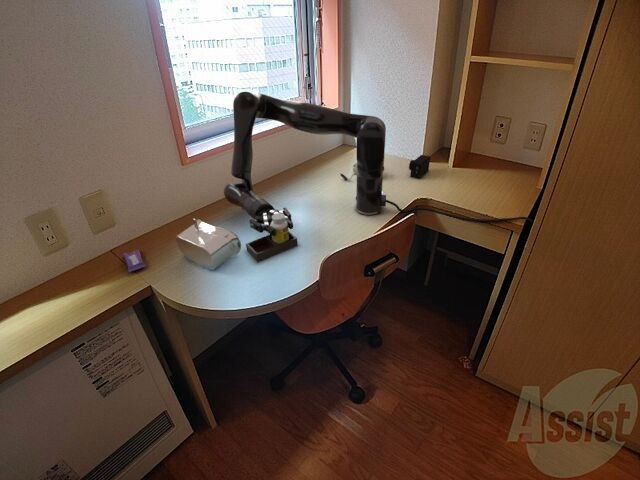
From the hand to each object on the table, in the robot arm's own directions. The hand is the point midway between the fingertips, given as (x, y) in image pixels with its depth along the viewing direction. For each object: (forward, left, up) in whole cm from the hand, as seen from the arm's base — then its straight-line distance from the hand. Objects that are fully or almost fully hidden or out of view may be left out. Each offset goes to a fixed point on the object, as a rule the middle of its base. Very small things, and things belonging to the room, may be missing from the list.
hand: (283, 229), depth 111 cm
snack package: (+45, +13, -7) cm, 48 cm away
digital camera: (-45, -63, -7) cm, 78 cm away
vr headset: (+22, +7, -7) cm, 24 cm away
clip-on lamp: (-20, -58, -7) cm, 62 cm away
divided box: (+4, +1, -7) cm, 8 cm away
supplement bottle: (+2, -2, -6) cm, 7 cm away
